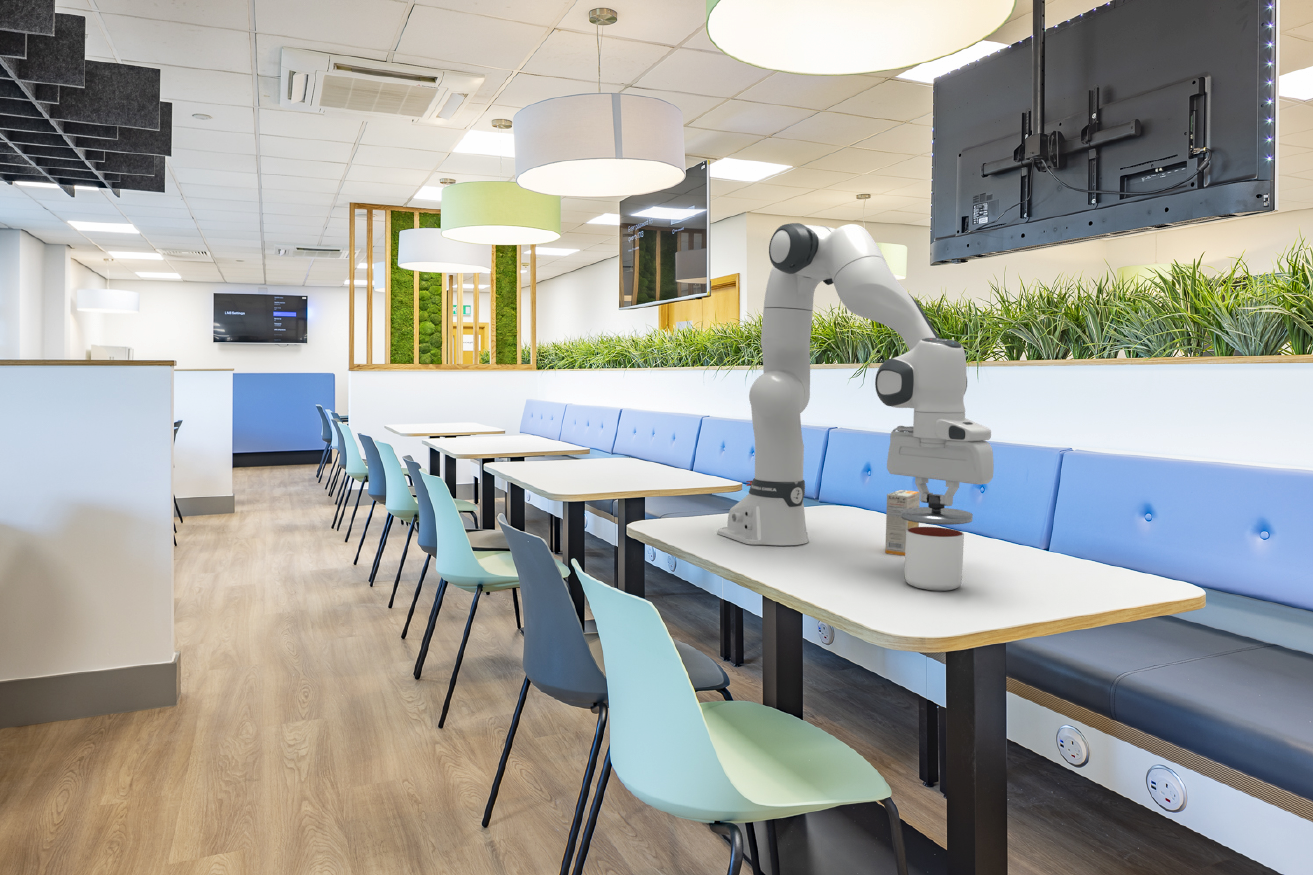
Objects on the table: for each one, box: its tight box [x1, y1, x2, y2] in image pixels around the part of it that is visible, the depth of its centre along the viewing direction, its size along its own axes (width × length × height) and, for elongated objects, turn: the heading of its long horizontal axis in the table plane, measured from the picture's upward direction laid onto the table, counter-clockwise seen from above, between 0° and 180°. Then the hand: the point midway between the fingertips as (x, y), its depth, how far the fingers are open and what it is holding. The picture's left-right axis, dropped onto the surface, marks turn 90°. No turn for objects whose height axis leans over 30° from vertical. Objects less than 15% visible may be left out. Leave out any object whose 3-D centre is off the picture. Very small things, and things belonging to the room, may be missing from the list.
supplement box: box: [885, 489, 921, 557], centre depth 183 cm, size 8×5×13 cm, turn 144°
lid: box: [901, 493, 973, 526], centre depth 153 cm, size 12×12×4 cm
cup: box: [904, 526, 965, 592], centre depth 153 cm, size 10×10×10 cm
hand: (936, 504), depth 153 cm, fingers closed on lid, 3 cm apart
